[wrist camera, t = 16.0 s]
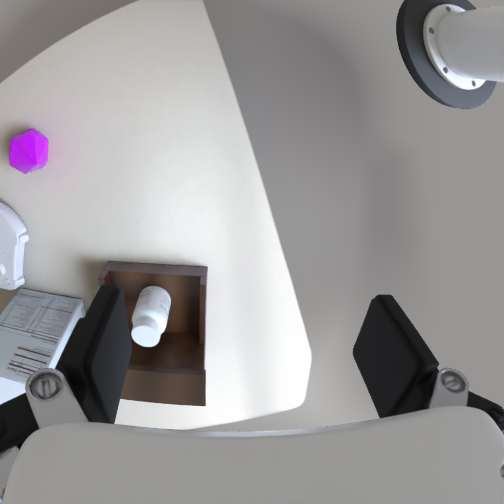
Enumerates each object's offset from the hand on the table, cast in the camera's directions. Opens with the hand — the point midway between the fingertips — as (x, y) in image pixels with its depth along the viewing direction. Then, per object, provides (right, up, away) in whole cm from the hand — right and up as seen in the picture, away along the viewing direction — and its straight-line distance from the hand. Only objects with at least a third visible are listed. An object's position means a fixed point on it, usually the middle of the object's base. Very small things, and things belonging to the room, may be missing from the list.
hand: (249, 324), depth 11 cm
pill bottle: (-13, -3, +30) cm, 33 cm away
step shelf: (-14, -6, +34) cm, 37 cm away
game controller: (-37, +4, +26) cm, 46 cm away
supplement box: (-33, -11, +35) cm, 49 cm away
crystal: (-28, +16, +21) cm, 39 cm away
